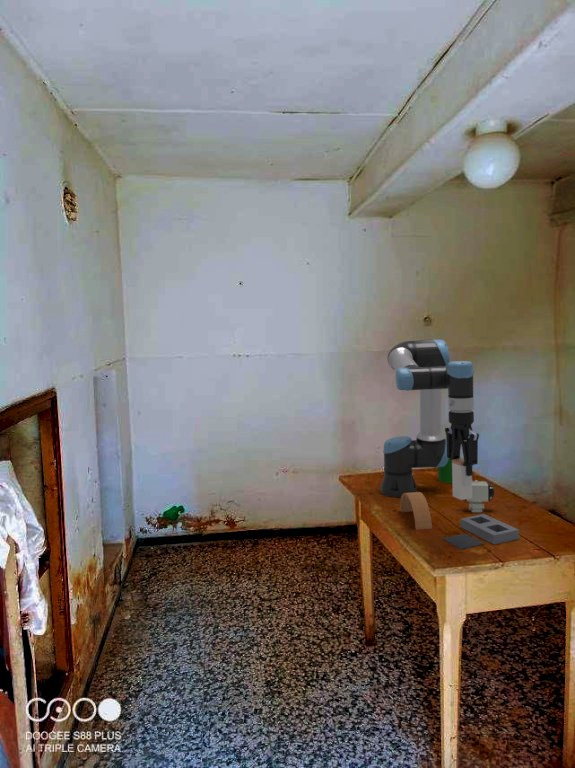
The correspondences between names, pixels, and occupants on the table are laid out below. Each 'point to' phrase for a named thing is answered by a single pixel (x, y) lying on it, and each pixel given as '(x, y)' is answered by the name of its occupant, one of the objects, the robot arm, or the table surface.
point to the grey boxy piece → (489, 529)
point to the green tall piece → (445, 472)
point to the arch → (417, 509)
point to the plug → (459, 481)
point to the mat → (463, 541)
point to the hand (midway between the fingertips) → (462, 483)
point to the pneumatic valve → (480, 495)
